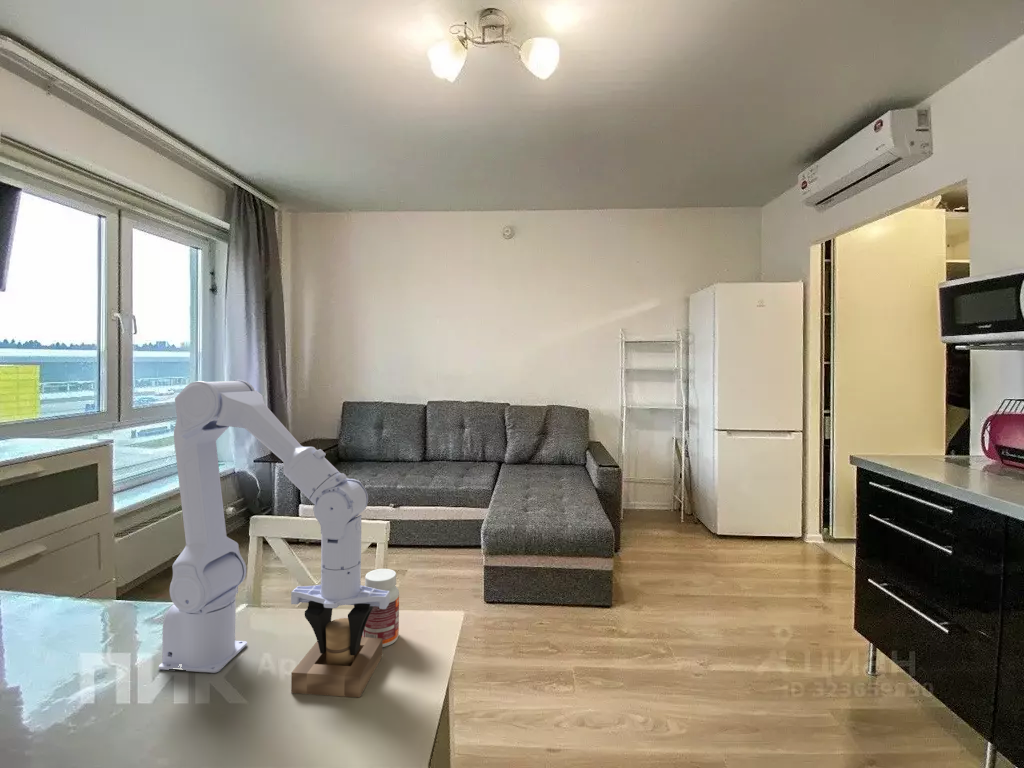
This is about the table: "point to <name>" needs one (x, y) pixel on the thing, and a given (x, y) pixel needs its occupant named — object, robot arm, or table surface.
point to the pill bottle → (383, 620)
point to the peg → (338, 643)
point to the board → (337, 671)
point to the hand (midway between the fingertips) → (340, 650)
